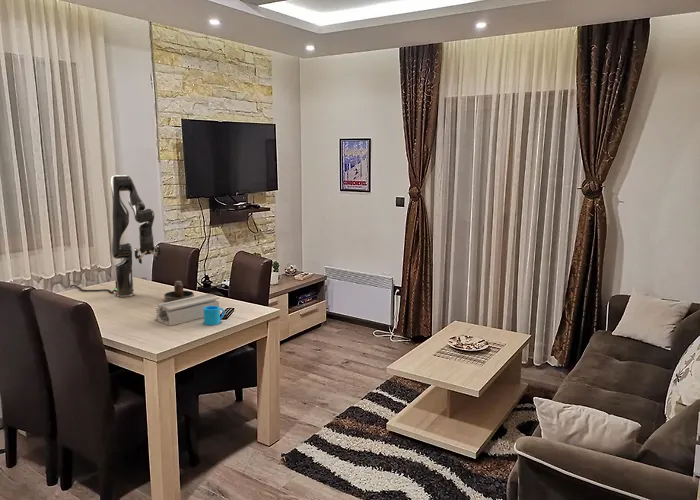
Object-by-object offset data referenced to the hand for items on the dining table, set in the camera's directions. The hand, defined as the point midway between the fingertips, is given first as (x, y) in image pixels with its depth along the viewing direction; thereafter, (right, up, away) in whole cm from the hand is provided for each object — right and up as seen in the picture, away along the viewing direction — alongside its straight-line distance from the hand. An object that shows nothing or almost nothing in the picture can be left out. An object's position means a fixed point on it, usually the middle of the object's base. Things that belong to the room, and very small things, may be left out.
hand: (148, 261), depth 304 cm
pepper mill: (+17, -23, +5) cm, 29 cm away
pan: (+17, -23, +5) cm, 29 cm away
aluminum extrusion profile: (+33, -30, -27) cm, 52 cm away
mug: (+50, -32, -36) cm, 69 cm away
